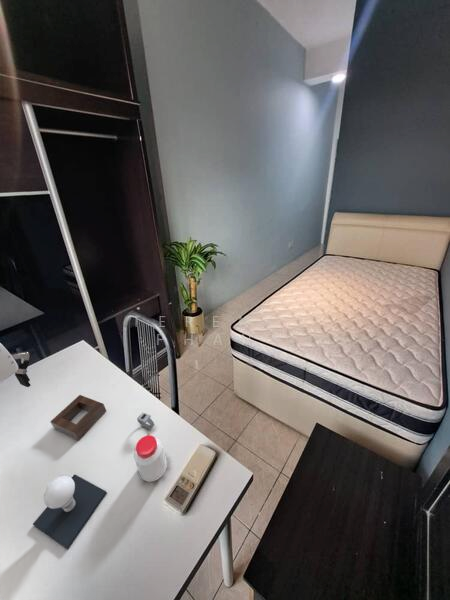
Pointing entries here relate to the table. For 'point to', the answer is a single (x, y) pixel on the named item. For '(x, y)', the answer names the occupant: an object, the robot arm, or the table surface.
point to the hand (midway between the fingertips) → (6, 399)
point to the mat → (71, 513)
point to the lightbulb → (60, 494)
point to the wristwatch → (145, 420)
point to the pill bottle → (150, 458)
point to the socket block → (72, 410)
